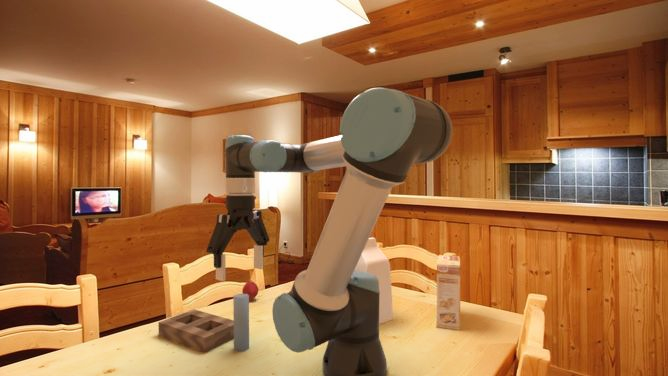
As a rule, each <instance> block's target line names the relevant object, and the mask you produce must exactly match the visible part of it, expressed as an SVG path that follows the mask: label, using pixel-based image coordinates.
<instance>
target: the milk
mask: <svg viewBox="0 0 668 376" xmlns="http://www.w3.org/2000/svg"><path fill="white" fill-rule="evenodd" d="M354 271H362V272H367V273H370V274H373V275H375V276H376V277H377V279H378V281H379V291H380V294H379V325H380V324H383V323H386V322H389V321H391V320H394V311H393V293H392V292H393V291H392V290H393V289H392V275H391V274H392V273H391V263H390V261H389V258H388V257H387V256H386V255H385V253H384V252H383V251H382V249H381V248H380V247H379V246H378V243H377V239H376V237H369V239H368V241H367V243H366V246H365V248H364V250H363V252H362V254H361V257H360V259H359V261H358V263H357V265H356V268H355V270H354Z"/></svg>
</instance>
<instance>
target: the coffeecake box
mask: <svg viewBox="0 0 668 376" xmlns="http://www.w3.org/2000/svg"><path fill="white" fill-rule="evenodd" d="M436 328H443V329H449V330H453V331H454V330H455V331H461V257H460V255H446V254H444V255H443V254H439V255H438V257H437V263H436Z"/></svg>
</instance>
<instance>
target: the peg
mask: <svg viewBox="0 0 668 376" xmlns="http://www.w3.org/2000/svg"><path fill="white" fill-rule="evenodd" d="M232 300H233V303H232V304H233V320H234V339H233V350H234V351H235V352H245V351H248V350H249V349H250V301H249V295H248V294H243V293H238V294H235V295H233V299H232Z"/></svg>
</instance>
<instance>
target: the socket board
mask: <svg viewBox="0 0 668 376" xmlns="http://www.w3.org/2000/svg"><path fill="white" fill-rule="evenodd" d="M158 337H161V338H163V339H166V340H169V341H171V342H175V343H176V344H180V345H182V346H185V347H186V348H187V347H188V348H191V349H192V350H193V349H194V350H195V351H199V352H200V353H204V354H206V353H208V352H210V351H211V350H212V351H213V350H214V349H217V348H218V347H220V346H222V345H224V344H226V343H228V342H231V341H232V340H234V319H230V318H228V317H227V318H225V317H222V316H218V315H215V314H212V313H208V312H205V311H201V310H197V309H194V308H193V309H191V310H188V311H185V312H182V313H180V314H178V315H174V316H172V317H169V318H166V319H163V320H161V321H158Z"/></svg>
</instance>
